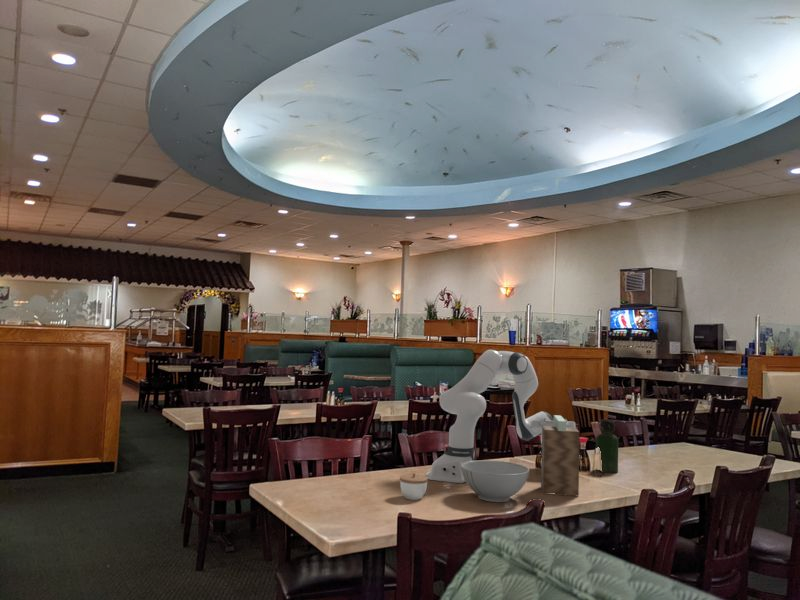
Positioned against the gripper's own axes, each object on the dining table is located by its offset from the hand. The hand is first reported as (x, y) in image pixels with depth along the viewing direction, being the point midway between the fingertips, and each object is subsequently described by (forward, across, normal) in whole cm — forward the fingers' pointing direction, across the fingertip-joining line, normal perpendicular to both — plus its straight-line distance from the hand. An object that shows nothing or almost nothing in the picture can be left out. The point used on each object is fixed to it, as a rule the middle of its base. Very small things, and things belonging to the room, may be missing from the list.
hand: (554, 420), depth 282 cm
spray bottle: (-35, +28, +11) cm, 46 cm away
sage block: (+19, 0, +11) cm, 22 cm away
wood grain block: (+9, 0, +36) cm, 37 cm away
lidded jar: (+33, -59, +49) cm, 83 cm away
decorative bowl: (+25, -28, +45) cm, 58 cm away
